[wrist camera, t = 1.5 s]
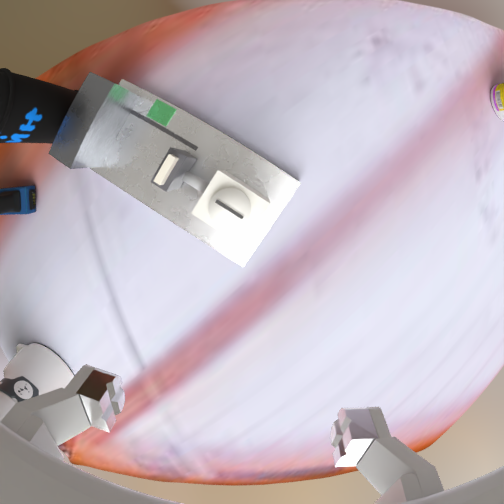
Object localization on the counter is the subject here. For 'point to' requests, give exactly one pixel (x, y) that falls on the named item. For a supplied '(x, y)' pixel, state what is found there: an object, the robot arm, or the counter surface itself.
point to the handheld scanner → (17, 200)
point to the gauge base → (153, 152)
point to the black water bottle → (31, 108)
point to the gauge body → (228, 204)
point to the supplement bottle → (498, 100)
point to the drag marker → (173, 169)
